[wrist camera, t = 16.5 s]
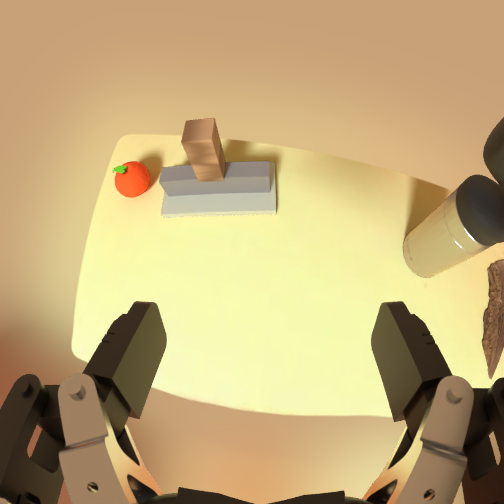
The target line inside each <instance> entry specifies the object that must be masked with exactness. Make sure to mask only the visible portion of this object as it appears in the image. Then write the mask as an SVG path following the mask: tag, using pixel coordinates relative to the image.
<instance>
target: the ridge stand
mask: <svg viewBox="0 0 504 504" xmlns="http://www.w3.org/2000/svg"><path fill="white" fill-rule="evenodd" d="M159 183H160V184H161V186H162V187H163V189H164V190H165V193H164V198H163V204H162V210H161V215H162V216H163V217H164V218H170V217H194V216H227V215H276V188H275V162H269V161H250V162H225V171H224V181H210V182H199V181H198V179H197V177H196V175H195V172H194V170H193V168H192V166H191V165H183V166H172V167H162V171H161V175H160V180H159Z"/></svg>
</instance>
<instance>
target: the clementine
mask: <svg viewBox="0 0 504 504" xmlns="http://www.w3.org/2000/svg"><path fill="white" fill-rule="evenodd" d="M114 171H116V172H117V173H116V176H115V185H116V188H117V190H118V191H119V192H120V193H121V194H122V195H124V196H126V197H137V196H139V195H141V194H142V193H144V192H145V190H146V189H147V187H148V185H149V182H150V175H149V172H148V170H147V168H146V167H145V166H144V165H143V164H142V163H139V162H136V161H132V162H127V163H125V164H123V165H122V166H117V167H115V168H114V170H113V173H114Z"/></svg>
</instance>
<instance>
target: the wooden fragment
mask: <svg viewBox="0 0 504 504" xmlns="http://www.w3.org/2000/svg"><path fill="white" fill-rule="evenodd" d="M488 275H489V284H490V289H489V297H490V300H489V306H488V308H487V310H486V311H485V314H484V320H483V321H484V337H483V340H482V346H483V349H484V354H485V356H486V361H487V364H488V368H489V369H488V375H489V378H490V379H492V377H493V374H494V372H495V369H496V367H497V364H498V362H499V359H500V356H501V353H502V351H503V348H504V260H501V261H496V262H495V264H491V267H490V268H488Z"/></svg>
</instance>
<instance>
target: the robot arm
mask: <svg viewBox="0 0 504 504" xmlns="http://www.w3.org/2000/svg"><path fill="white" fill-rule="evenodd" d="M483 157H484V162H485V164H486V166H487V168H488V169H489V171H490V173H491V174H492V175H493V177H494V178H495V179H496V180H497V182H498V183H499V184H497V183H496V182H494V181H493V180H491V179H489V178H488V177H485V176H482V175H473V176H470V177H468V178H467V179H466V180H465V181H464V182H463V183H462V184H461V185H460V186H459V187H458V188H457V189H456V190H455V191H454V192H453V193H452V194H451V195H450V196H449V197H448V198H447V199H446V200H445V201H444V202H443V203H442V204H441V205H440V206H438V207H437V208H436V209H435V210H434V211H433V212H432V213H431V214H430V215H429V216H428V217H427V218H425V219H424V220H423V221H422V222H421V223H420V224H419V225H418V226H417V227H415V228H414V229H413V230H412V231H411V232H410V233H409V234H408V235H407V236H406V238H405V241H404V245H403V253H404V257H405V260H406V263H407V264H408V266H409V268H410V269H411V270H412V271H413V272H414V273H415V274H417V275H418V276H421V277H425V278H429V277H432V276H435V275H437V274H439V273H441V272H443V271H445V270H447V269H449V268H451V267H453V266H455V265H457V264H459V263H461V262H463V261H465V260H467V259H469V258H471V257H473V256H475V255H476V254H478V253H480V252H482V251H484V250H485V249H487V248H489V247H491V246H493V245H494V244H496V243H501V242H504V118H503V119H502V120H501V121H500V122H499V123H498V124H497V125H496V127H495V128H494V129H493V131H492V132H491V134H490V135H489V137H488V139H487V141H486V144H485V146H484V152H483ZM166 343H167V337H166V332H165V329H164V326H163V322H162V319H161V316H160V312H159V309H158V306H157V304H156V303H154V302H140V301H136V302H134V303H133V305H132V307H131V308H130V310H129V311H128V313H127V314H122V315H121V316H120V317H119V318H118V319H116V320H115V321H114V322H113V323H112V325H111V326H110V328H109V329H108V331H107V334H105V336H104V338H103V339H102V343H101V342H100V344H99V346H98V347H97V349H96V351H95V352H94V354H93V356H92V358H91V359H90V361H89V363H88V364H87V366H86V368H85V370H84V372H83V373H82V374H81V373H79V374H73V375H71V376H69V377H67V378H66V379H65V380H64V381H63V382H62V384H61V385H43V384H42V382H41V381H40V380H39V379H38V377H37V376H35V375H33V374H26V375H23V376H21V377H20V378H19V379H18V380H17V381H16V382H15V383H14V385H13V387H12V389H11V390H10V392H9V394H8V396H7V398H6V400H5V401H4V403H3V405H2V407H1V409H0V504H57V502H58V499H59V495H60V491H61V488H62V484H63V480H65V483H66V487H67V490H68V493H69V496H70V499H71V502H72V504H253V503H249V502H246V501H242V500H238V499H235V498H231V497H228V496H225V495H222V494H219V493H213V492H205V491H198V490H192V489H187V488H181V487H179V489H178V493H172V494H164V495H163V494H162V492H161V490H160V488H159V486H158V485H157V483H156V482H155V480H154V479H153V478H152V476H151V475H150V474H149V472H148V471H147V469H146V468H145V466H144V464H143V462H142V460H141V457H140V455H139V453H138V451H137V448H136V446H135V444H134V442H133V439H132V437H131V434H130V431H129V429H128V427H127V425H126V421H127V419H128V416H129V417H133V418H137V419H140V416H141V413H142V410H143V407H144V405H145V402H146V399H147V396H148V394H149V391H150V388H151V386H152V383H153V380H154V377H155V375H156V372H157V369H158V367H159V364H160V362H161V359H162V356H163V354H164V351H165V348H166ZM371 346H372V351H373V354H374V357H375V360H376V363H377V366H378V369H379V372H380V375H381V378H382V382H383V385H384V388H385V391H386V395H387V398H388V402H389V405H390V409H391V412H392V416H393V419H394V422H397V421H401V420H405V421H406V424H407V426H406V427H405V429H404V431H403V433H402V435H401V437H400V439H399V442H398V443H397V446H396V447H395V449H394V451H393V453H392V455H391V457H390V459H389V461H388V463H387V464H386V466H385V468H384V470H383V471H382V473H381V474H380V476H379V477H378V478H377V479H376V480H375V481H374V483H373V484H372V485H371V487H370V488H369V489H368V491H367V492H366V494H365V495H364V497H363V498H362V499H358V498H353V497H345V493H344V491H338V492H330V493H321V494H311V495H302V496H299V497H295V498H291V499H287V500H284V501H279V502H274V503H269V504H452V503H453V501H454V498H455V496H456V493H457V491H458V488H459V486H460V483H461V481H462V487H463V493H464V501H465V504H504V378H499V379H498V380H496V381H495V383H494V384H493V385H492V386H491V388H472V387H471V385H470V384H469V383H468V382H467V381H466V380H465V379H463V378H461V377H459V376H453V375H452V373H451V371H450V369H449V367H448V365H447V363H446V361H445V359H444V357H443V355H442V354H441V352H440V350H439V348H438V346H437V344H435V340H434V339H433V337H432V335H430V332H429V330H428V328H427V326H426V325H425V323H424V322H423V321H422V320H421V319H420V318H419V317H417V316H416V315H415V314H410V312H409V311H408V309H407V307H406V305H405V304H404V303H403V302H402V301H398V302H384V303H382V304H381V306H380V309H379V313H378V316H377V319H376V323H375V326H374V329H373V332H372V337H371ZM36 425H38V426H39V427H40V428H41V429H42V431H41V433H40V436H39V439H38V441H37V443H36V446H35V449H34V451H33V454H32V456H31V457H30V458H29V456H28V454H27V447H28V444H29V442H30V439H31V437H32V435H33V432H34V430H35V428H36ZM493 431H494V434H495V437H496V440H497V444H498V447H499V451H500V455H501V460H500V463H499V465H497V463H496V460H495V456H494V452H493V448H492V445H491V442H490V438H489V435H490V434H491V433H492V432H493Z"/></svg>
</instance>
